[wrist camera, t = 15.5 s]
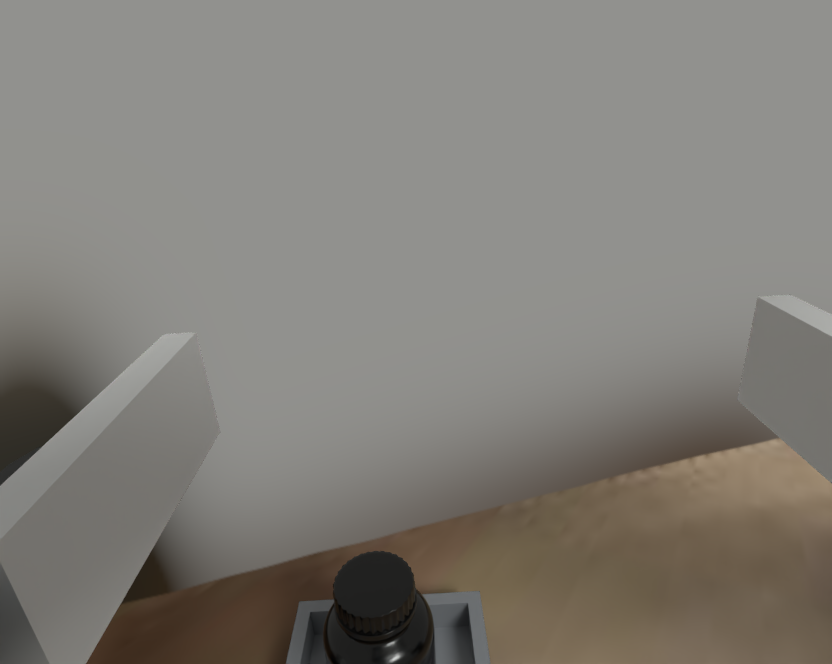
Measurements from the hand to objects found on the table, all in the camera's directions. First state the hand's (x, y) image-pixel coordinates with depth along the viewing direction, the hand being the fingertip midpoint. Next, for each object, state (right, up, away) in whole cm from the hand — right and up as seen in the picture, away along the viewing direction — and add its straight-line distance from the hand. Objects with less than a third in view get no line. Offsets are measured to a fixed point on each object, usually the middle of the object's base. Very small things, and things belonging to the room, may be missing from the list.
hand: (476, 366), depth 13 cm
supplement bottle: (-3, -25, +23) cm, 34 cm away
